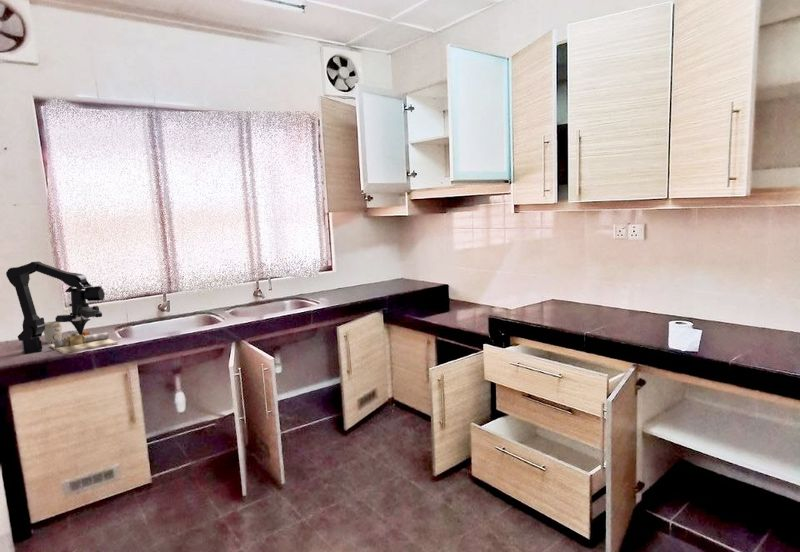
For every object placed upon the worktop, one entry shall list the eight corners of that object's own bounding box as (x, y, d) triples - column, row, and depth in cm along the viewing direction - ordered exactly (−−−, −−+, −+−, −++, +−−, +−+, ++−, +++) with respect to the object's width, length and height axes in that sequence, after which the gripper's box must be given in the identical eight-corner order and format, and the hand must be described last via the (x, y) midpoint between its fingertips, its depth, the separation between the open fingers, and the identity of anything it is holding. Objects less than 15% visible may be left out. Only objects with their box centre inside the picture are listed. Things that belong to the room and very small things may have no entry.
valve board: (63, 353, 217) (62, 341, 216) (50, 346, 233) (48, 335, 232) (117, 344, 233) (116, 332, 233) (101, 338, 249) (100, 328, 249)
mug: (49, 344, 239) (46, 324, 238) (36, 342, 245) (34, 323, 245) (67, 340, 246) (65, 321, 246) (54, 339, 253) (52, 320, 252)
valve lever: (70, 334, 231) (69, 330, 231) (75, 333, 233) (75, 329, 233) (84, 336, 225) (84, 332, 224) (90, 335, 227) (89, 331, 226)
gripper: (71, 303, 213) (73, 339, 214) (109, 299, 230) (111, 332, 231) (53, 303, 217) (55, 338, 217) (92, 299, 234) (94, 331, 235)
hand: (80, 334), depth 225 cm, fingers closed
